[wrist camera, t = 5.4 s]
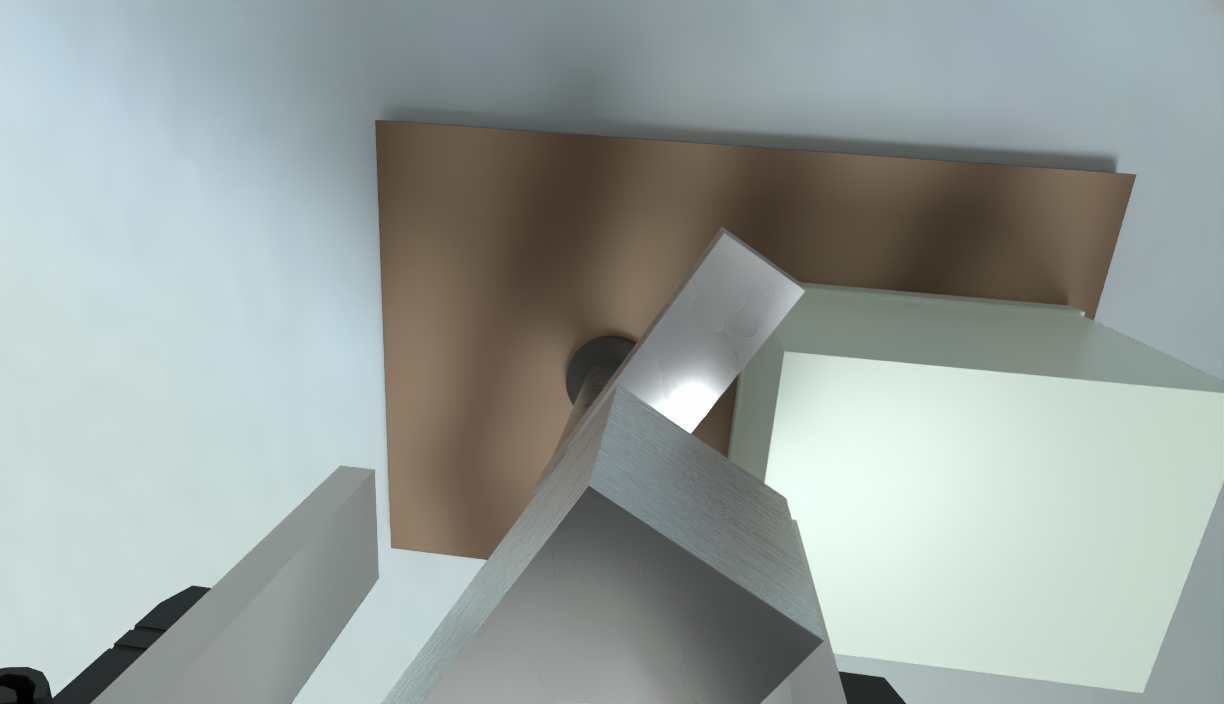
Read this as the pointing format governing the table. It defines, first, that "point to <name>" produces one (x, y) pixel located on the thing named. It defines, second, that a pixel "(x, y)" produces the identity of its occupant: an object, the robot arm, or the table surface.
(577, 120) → the table surface
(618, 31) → the table surface
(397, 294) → the board
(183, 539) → the table surface
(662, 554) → the grey t-shaped stand
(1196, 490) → the pale green block
